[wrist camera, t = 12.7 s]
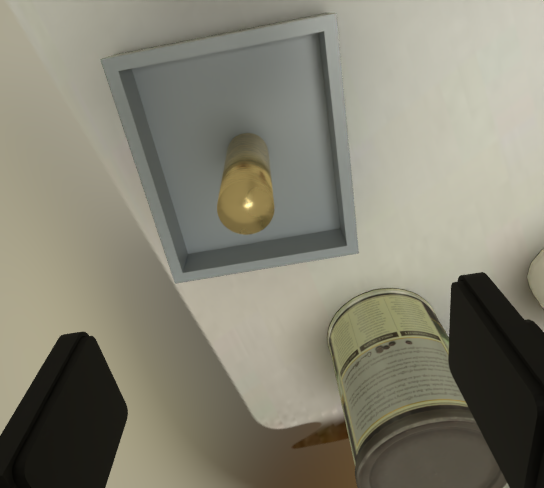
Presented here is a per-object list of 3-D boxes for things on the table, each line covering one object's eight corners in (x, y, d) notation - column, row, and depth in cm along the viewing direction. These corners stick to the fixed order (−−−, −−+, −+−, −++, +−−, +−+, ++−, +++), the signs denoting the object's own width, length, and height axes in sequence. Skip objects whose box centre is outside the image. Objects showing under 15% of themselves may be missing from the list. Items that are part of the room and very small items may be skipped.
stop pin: (222, 137, 31) (211, 187, 22) (264, 129, 31) (269, 177, 22) (231, 176, 32) (223, 238, 24) (271, 169, 32) (278, 229, 24)
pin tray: (117, 54, 29) (100, 59, 26) (327, 12, 28) (336, 13, 25) (182, 260, 36) (175, 283, 33) (349, 232, 36) (358, 253, 33)
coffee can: (461, 318, 40) (552, 456, 28) (388, 388, 44) (440, 537, 32) (373, 267, 37) (432, 395, 25) (304, 347, 41) (324, 492, 29)
